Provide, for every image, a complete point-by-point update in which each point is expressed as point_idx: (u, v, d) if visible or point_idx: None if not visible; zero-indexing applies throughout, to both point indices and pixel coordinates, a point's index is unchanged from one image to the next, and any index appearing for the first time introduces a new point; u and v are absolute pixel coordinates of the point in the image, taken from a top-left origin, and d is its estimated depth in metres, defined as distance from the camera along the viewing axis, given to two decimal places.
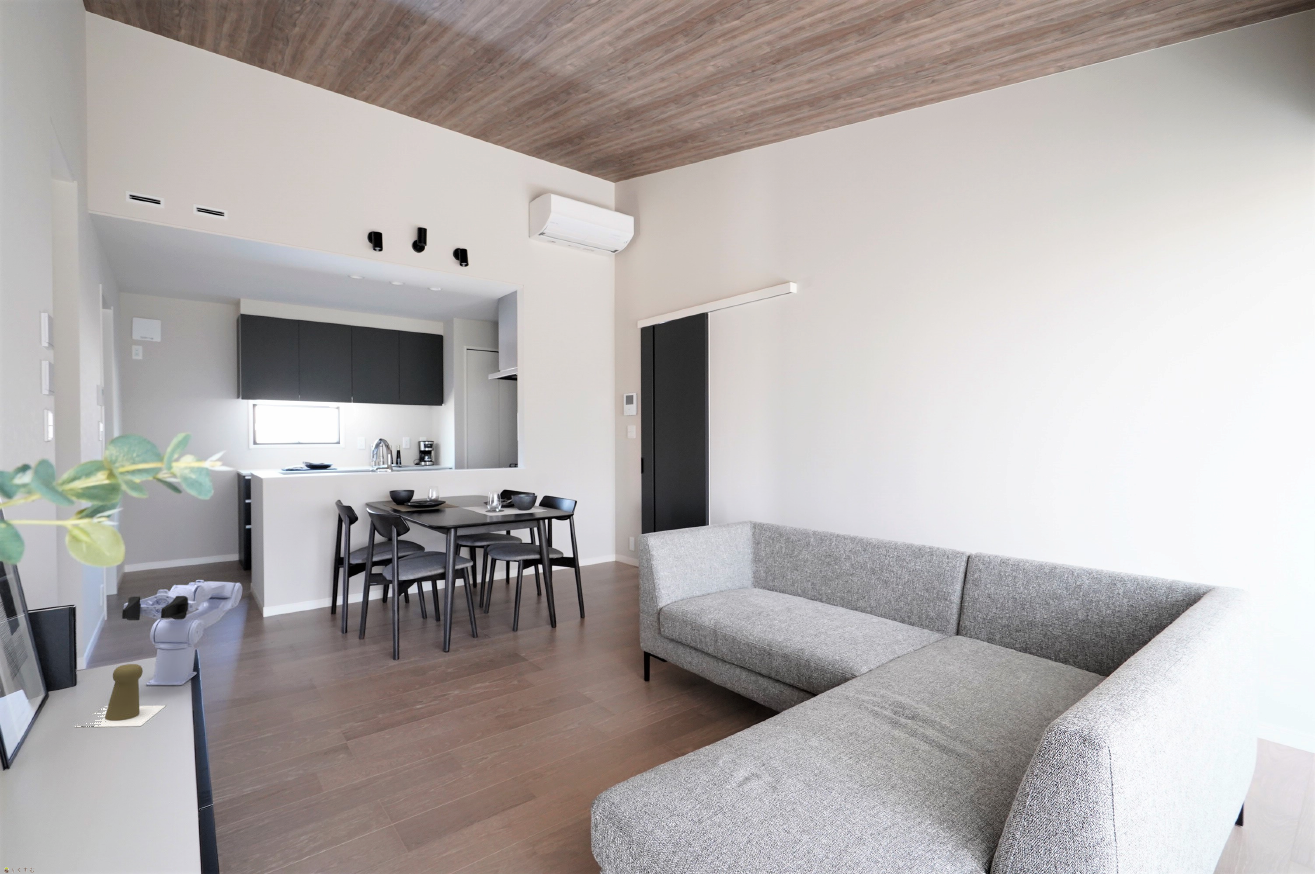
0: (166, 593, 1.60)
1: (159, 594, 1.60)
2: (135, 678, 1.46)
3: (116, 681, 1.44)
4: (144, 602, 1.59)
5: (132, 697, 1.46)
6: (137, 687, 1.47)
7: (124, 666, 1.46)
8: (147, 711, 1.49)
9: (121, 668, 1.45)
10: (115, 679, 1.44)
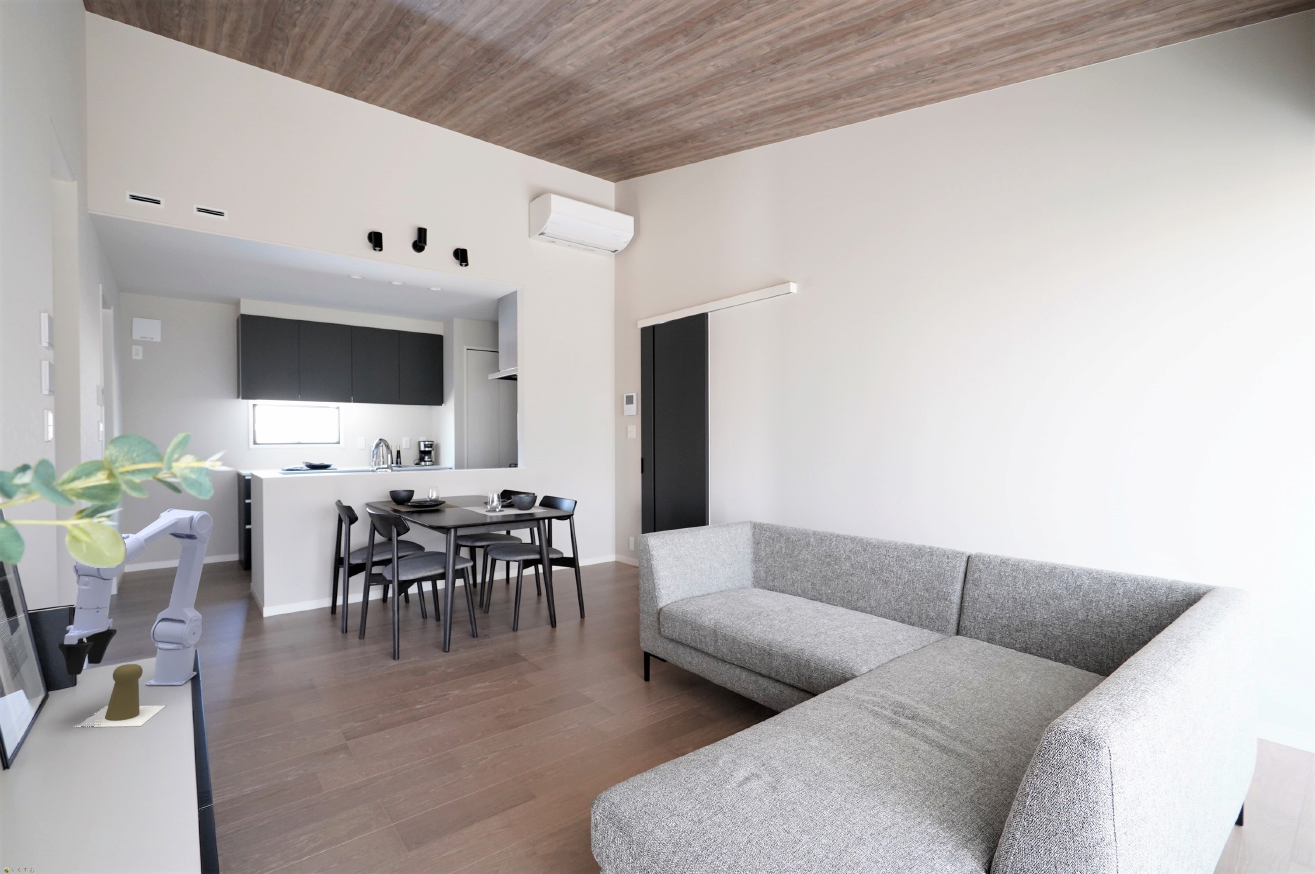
0: (70, 630, 1.43)
1: None
2: (135, 678, 1.46)
3: (116, 681, 1.44)
4: None
5: (132, 697, 1.46)
6: (137, 687, 1.47)
7: (124, 666, 1.46)
8: (147, 711, 1.49)
9: (121, 668, 1.45)
10: (115, 679, 1.44)
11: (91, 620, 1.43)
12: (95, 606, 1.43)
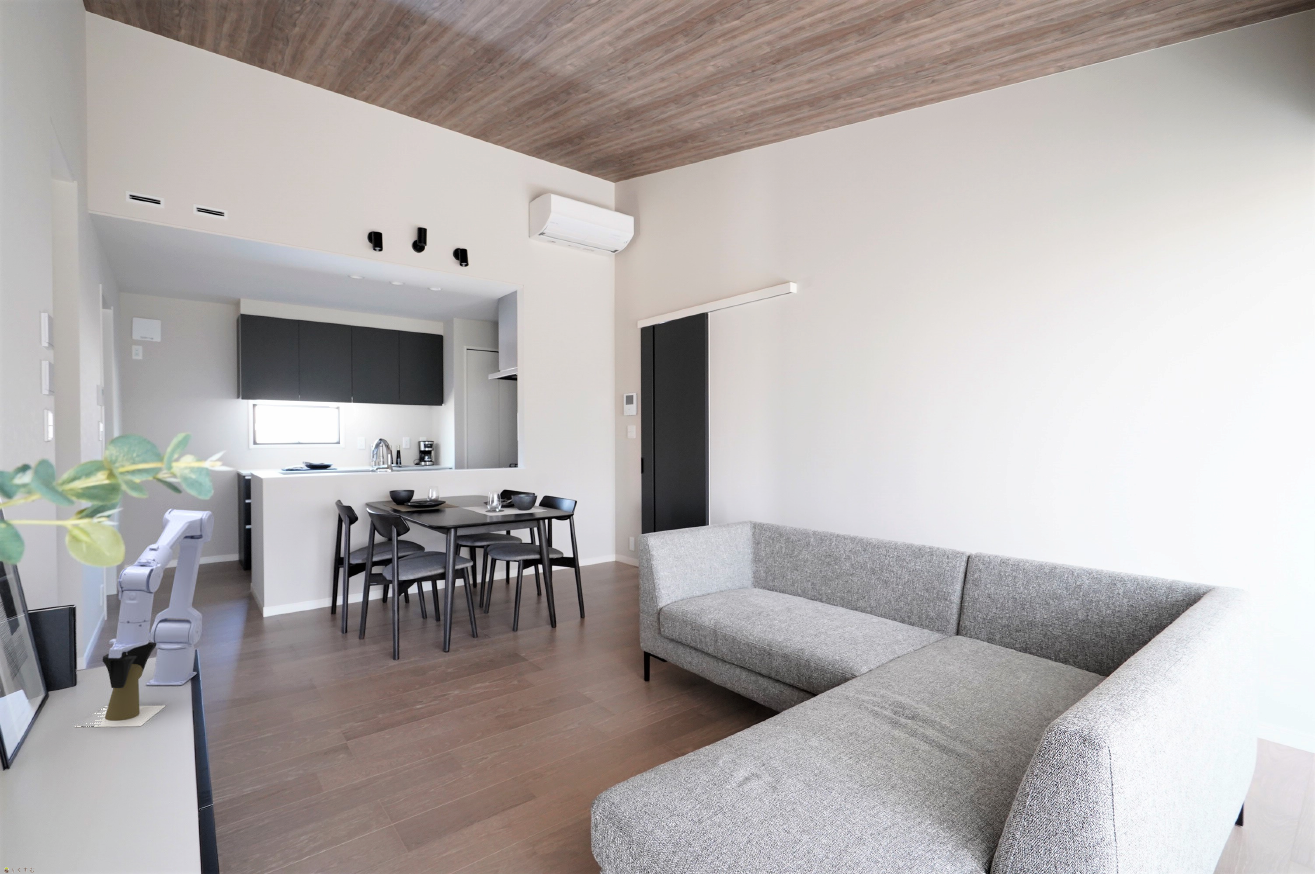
0: (113, 643, 1.45)
1: None
2: (135, 678, 1.46)
3: None
4: None
5: (132, 697, 1.46)
6: (137, 687, 1.47)
7: None
8: (147, 711, 1.49)
9: None
10: None
11: (134, 633, 1.45)
12: (142, 619, 1.46)
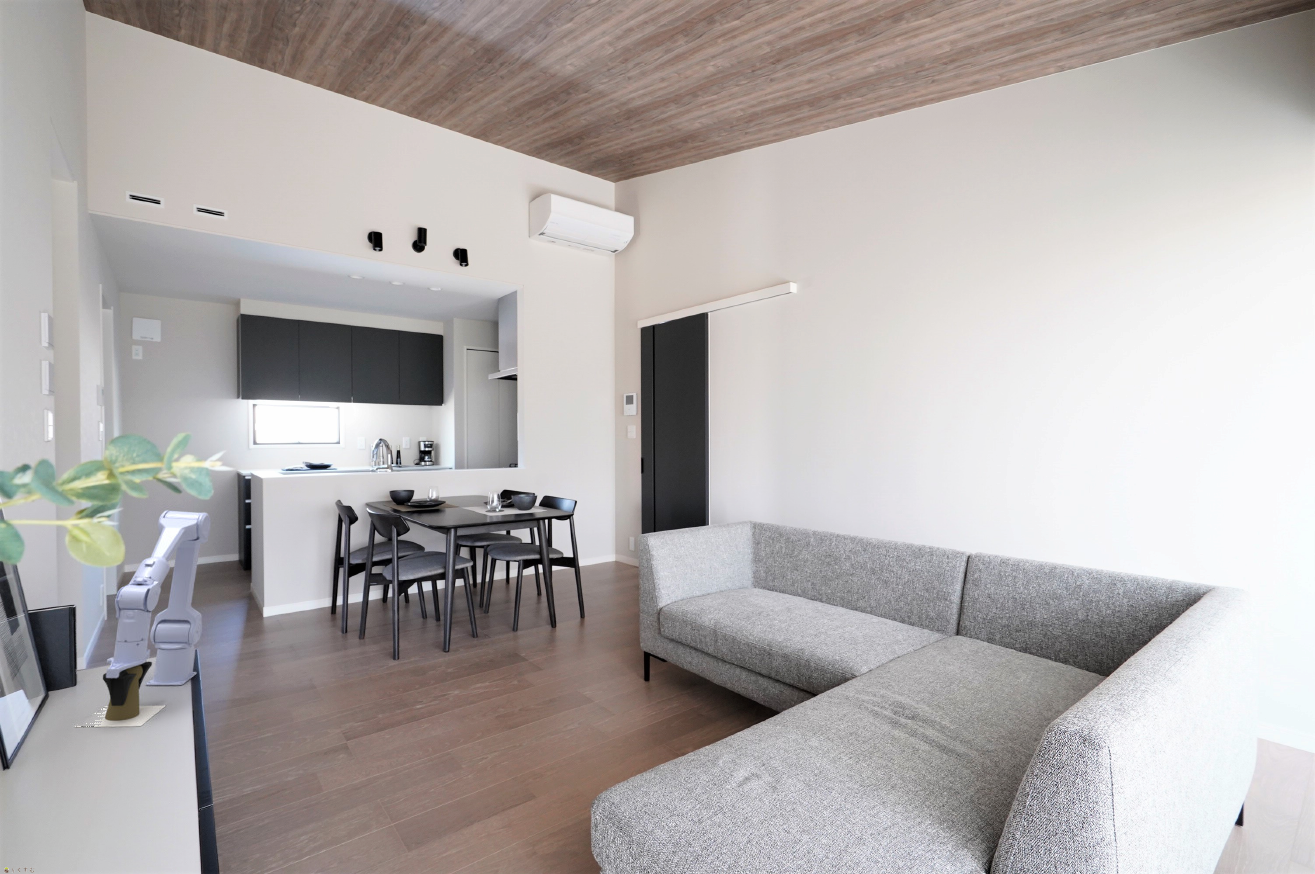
0: (110, 662, 1.45)
1: None
2: (135, 678, 1.46)
3: None
4: None
5: (132, 697, 1.46)
6: (137, 687, 1.47)
7: None
8: (147, 711, 1.49)
9: None
10: None
11: (131, 652, 1.45)
12: (140, 638, 1.46)
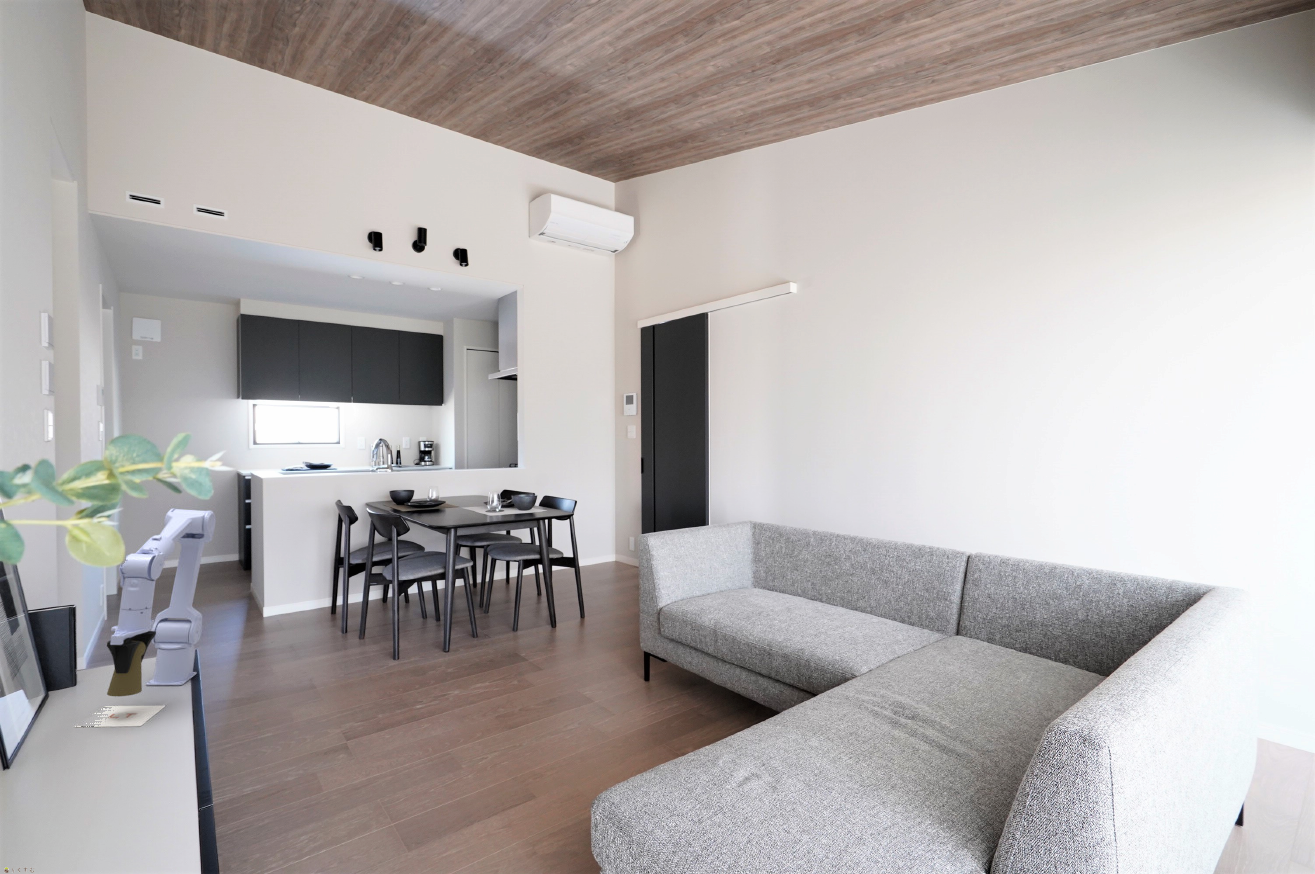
0: (114, 630, 1.45)
1: None
2: (138, 654, 1.46)
3: None
4: None
5: (135, 673, 1.46)
6: (140, 664, 1.47)
7: None
8: (147, 711, 1.49)
9: None
10: None
11: (136, 620, 1.45)
12: (144, 607, 1.46)
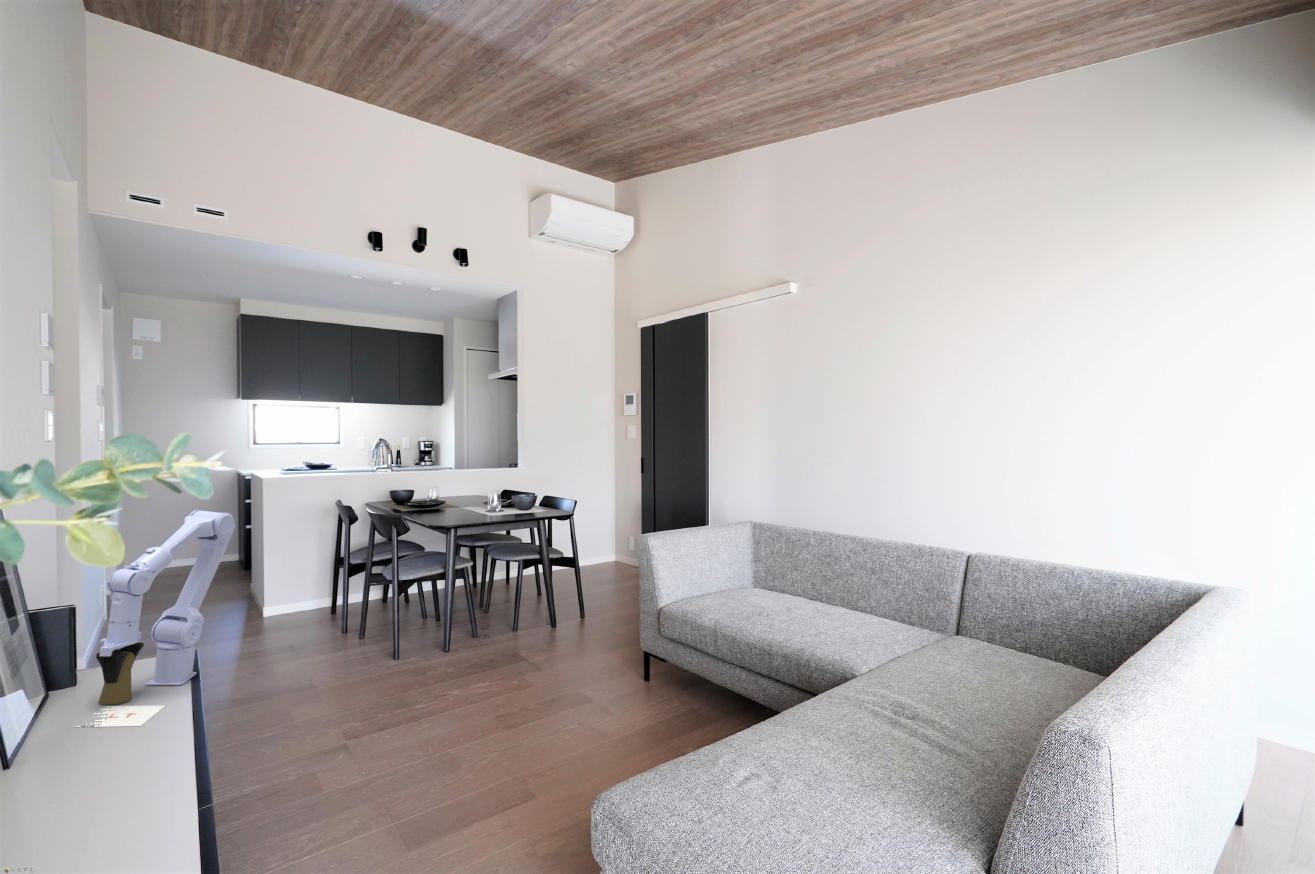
0: (104, 642, 1.53)
1: None
2: (128, 665, 1.54)
3: None
4: None
5: (125, 683, 1.53)
6: (129, 673, 1.55)
7: None
8: (147, 711, 1.49)
9: None
10: None
11: (124, 633, 1.53)
12: (126, 620, 1.53)
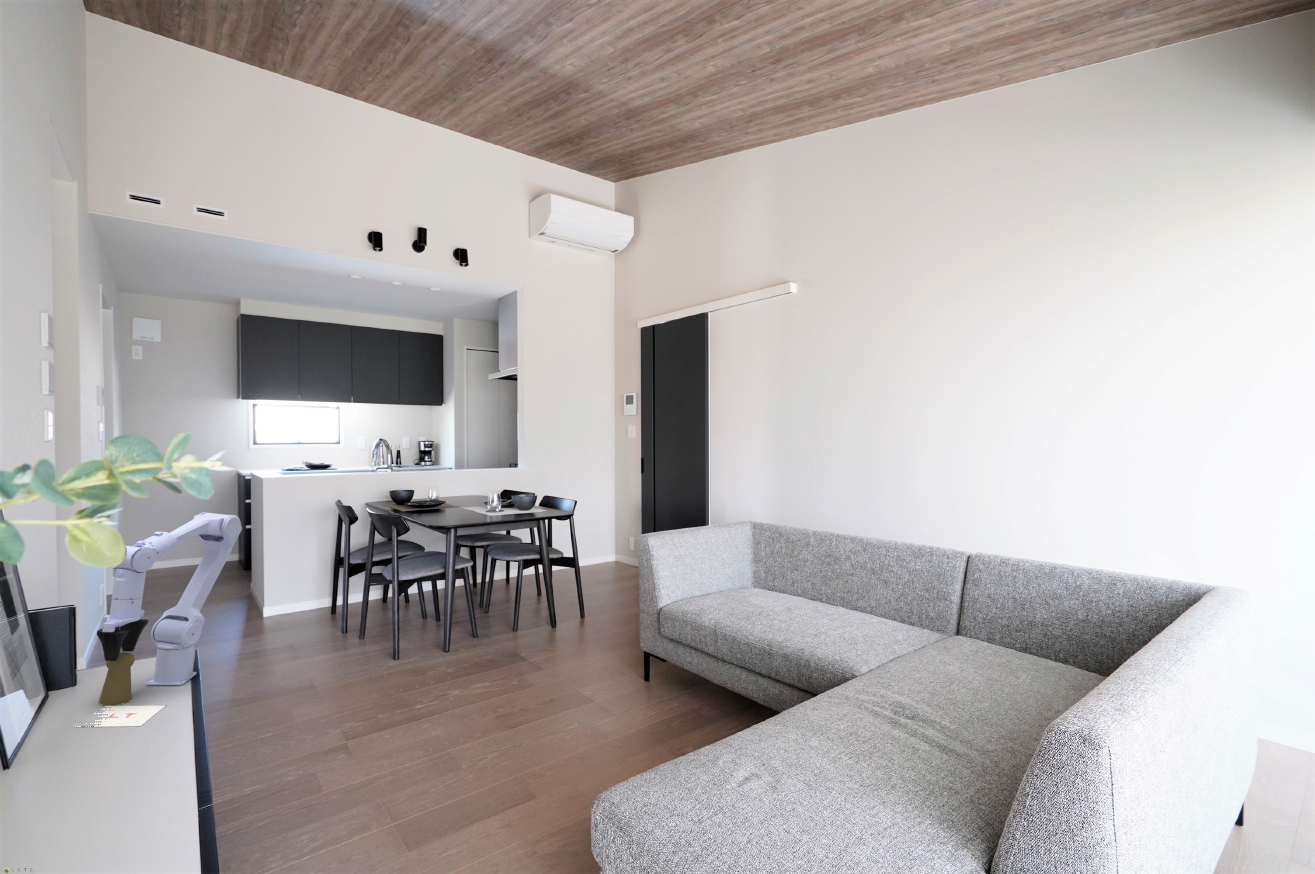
0: (106, 619, 1.53)
1: None
2: (127, 666, 1.54)
3: (109, 668, 1.52)
4: None
5: (125, 683, 1.53)
6: (129, 674, 1.55)
7: None
8: (147, 711, 1.49)
9: None
10: (108, 666, 1.52)
11: (127, 609, 1.53)
12: (129, 597, 1.53)
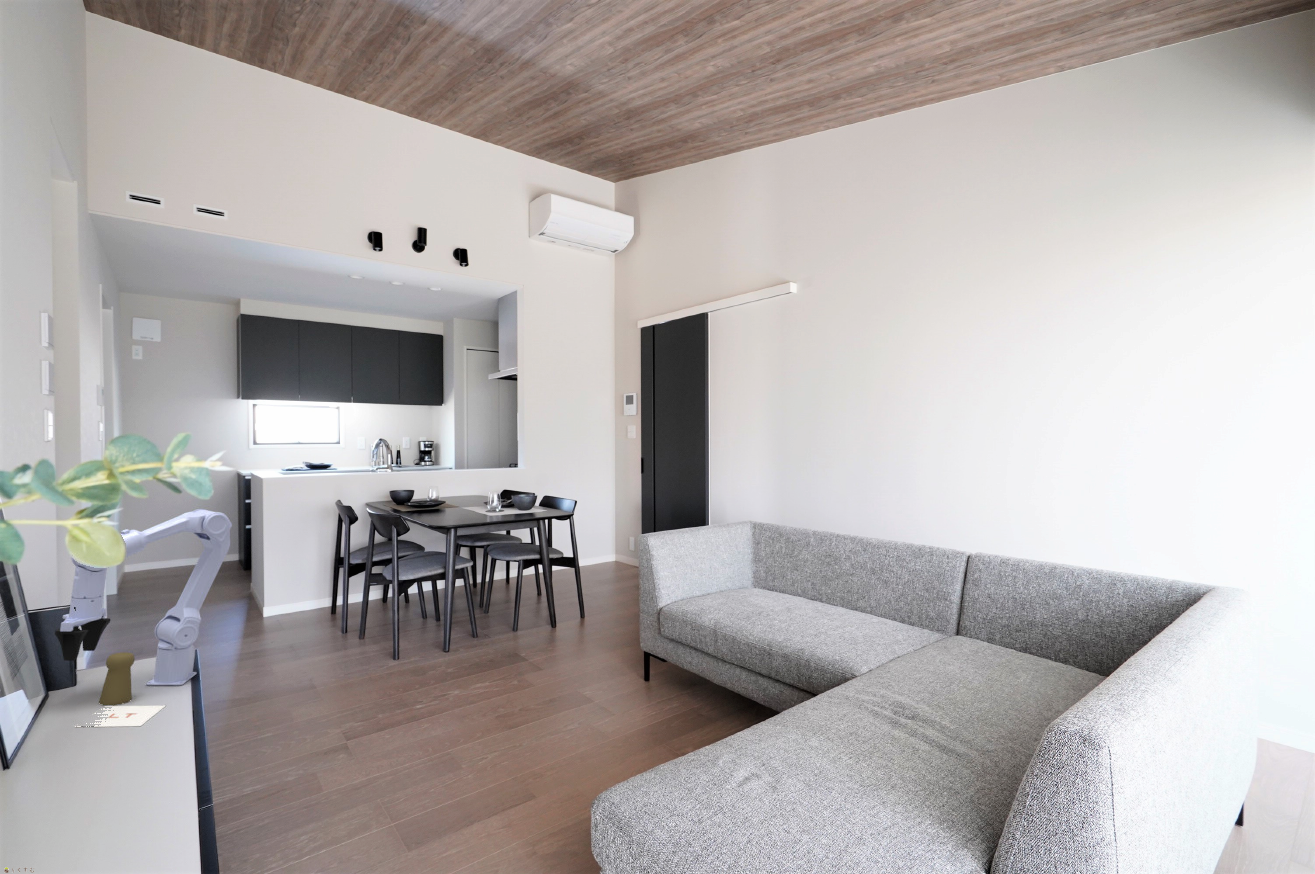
0: (66, 618, 1.51)
1: None
2: (127, 666, 1.54)
3: (109, 668, 1.52)
4: None
5: (124, 683, 1.53)
6: (129, 674, 1.55)
7: (117, 654, 1.54)
8: (147, 711, 1.49)
9: (114, 656, 1.53)
10: (108, 666, 1.52)
11: (86, 608, 1.51)
12: (82, 596, 1.51)
